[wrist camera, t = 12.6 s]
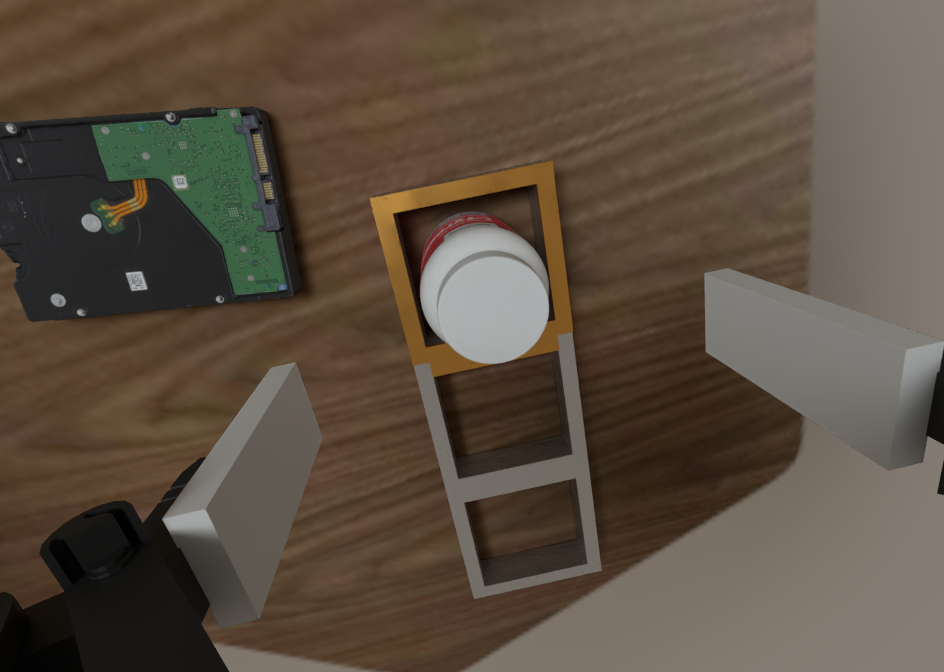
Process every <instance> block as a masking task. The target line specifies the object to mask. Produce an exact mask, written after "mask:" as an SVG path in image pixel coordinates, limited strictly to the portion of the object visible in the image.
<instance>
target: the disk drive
mask: <svg viewBox="0 0 944 672" xmlns="http://www.w3.org/2000/svg"><path fill="white" fill-rule="evenodd" d="M0 248H1V249H2V250H3V251H5V252H6V254H7V256H8V257H10V258H11V260H12V261H13V262H14V263H19V264H20V266H19V267H17V268H16V273H17V274H16V278H17V281H16V282H15V283H14V284H13V285H14V287H15V289H16V292H17V294H18V297H19V298H20V301H21V303H22V306H23V308H24V311H25V312H26V316H27V318H28V320H30V321H32V322H34V321H48V320H55V321H58V320H66V319H75V318H81V317H88V316H104V315H110V314H121V313H132V312H142V311H153V310H161V309H174V308H184V307H196V306H203V305H216V304H224V303H241V302H252V301H254V302H256V301H260V300H265V299H278V298H285V297H291V296H293V295H294V294H295V293H296V292H298V290H299V289H300V288H301V287H302V282H301V277H300V272H299V268H298V264H297V258H296V253H295V248H294V243H293V238H292V233H291V228H290V223H289V218H288V214H287V211H286V206H285V201H284V193H283V189H282V184H281V179H280V174H279V169H278V164H277V160H276V155H275V150H274V145H273V140H272V135H271V130H270V125H269V120H268V115H267V112H265V111H264V110H261V109H259V108H257V107H243V108H237V107H235V108H221V109H219V108H214V107H210V108H209V107H206V108H202V107H201V108H194V109H188V110H180V111H165V112H151V113H137V114H135V113H134V114H119V115H107V116H93V117H83V118H67V119H51V120H39V121H23V122H0Z"/></svg>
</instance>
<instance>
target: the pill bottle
mask: <svg viewBox="0 0 944 672" xmlns="http://www.w3.org/2000/svg"><path fill="white" fill-rule="evenodd" d="M548 297H549V282H548V276H547V272H546V269H545V266H544V264H543V262H542V260H541V258H540V256H539V255H538V253H537V252H536V251H535V250H534V248H533V247H532V246H531V245H530V244H529V243H528V242H527V241H526V240H525V239H523V238H522V237H521V236H520V235H518V234H517V233H516V232H515V231H514V230H512V229H511V228H510V227H509V226H508V225H506V224H505V223H504V222H502V221H501V220H500V219H498V218H496V217H494V216H492V215H489V214H487V213H482V212H474V211H472V212H463V213H459V214H455V215H453V216H451V217H449V218H447V219H446V220H444V221H443V222H441V223H440V224H439V225H438V226H437V227H436V228H435V229H434V230H433V232H432V233H431V234H430V236H429V238H428V240H427V242H426V244H425V247H424V251H423V255H422V267H421V281H420V299H421V305H422V309H423V313H424V315H425V318H426V320H427V322H428V324H429V325H430V327H431V328H432V330H433V331H434V332H435V333H436V334H437V335H438V336H439V337H440V338H441V339H442V340H443V341H444V342H446V343H447V344H449V345H450V346H451V347H452V348H453V349H454V350H455V351H456V352H457V353H459V354H460V355H462V356H463V357H465V358H467V359H469V360H472V361H475V362H478V363H484V364H498V363H504V362H507V361H511V360H513V359H516V358H518V357H520V356H521V355H523V354H524V353H526V352H527V351H528V350H530V349H531V348H532V347H533V346H534V345H535V343H536V342H537V341H538V340H539V338H540V337H541V335H542V333H543V331H544V329H545V326H546V324H547V320H548V316H549V299H548Z"/></svg>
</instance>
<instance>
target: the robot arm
mask: <svg viewBox="0 0 944 672" xmlns="http://www.w3.org/2000/svg"><path fill="white" fill-rule="evenodd" d="M705 336H706V352H707V353H708V354H710V355H711V356H713V357H714V358H716V359H718V360H719V361H721V362H722V363H724V364H725V365H727V366H728V367H730V368H731V369H733V370H734V371H736V372H737V373H739V374H741V375H742V376H744V377H745V378H747V379H748V380H750V381H751V382H753V383H754V384H756V385H757V386H759V387H761V388H762V389H764V390H765V391H767V392H768V393H770V394H771V395H773V396H774V397H776V398H777V399H779V400H781V401H782V402H784V403H785V404H787V405H788V406H790V407H791V408H793V409H794V410H796V411H797V412H799V413H800V414H802V415H804V416H805V417H807V418H808V419H810V420H812V421H813V422H814V423H816V424H817V425H819V426H821V427H822V428H824V429H825V430H827V431H828V432H830V433H831V434H833V435H834V436H836V437H837V438H839V439H840V440H842V441H844V442H845V443H847V444H848V445H850V446H851V447H853V448H854V449H856V450H857V451H859V452H861V453H862V454H864V455H865V456H867V457H868V458H870V459H871V460H873V461H875V462H876V463H877V464H879V465H880V466H882V467H883V468H885V469H887V470H892V469H896V468H901V467H905V466H909V465H913V464H917V463H922V462H923V459H924V453H925V448H926V442H927V437H928V436H929V437H931V438H933V439H934V440H936V441H938V442H940V443H942V444H944V340H941V339H938V338H935V337H932V336H929V335H926V334H922V333H920V332H917V331H913V330H910V329H908V328H905V327H902V326H899V325H895V324H893V323H889V322H887V321H884V320H881V319H878V318H875V317H871V316H869V315H866V314H863V313H860V312H857V311H854V310H851V309H848V308H845V307H842V306H839V305H836V304H833V303H830V302H827V301H824V300H821V299H818V298H815V297H812V296H809V295H806V294H803V293H800V292H797V291H794V290H791V289H788V288H785V287H782V286H779V285H776V284H773V283H770V282H767V281H764V280H761V279H758V278H755V277H752V276H749V275H746V274H743V273H740V272H737V271H734V270H731V269H728V268H727V269H722V270H717V271H713V272H708V273H705ZM321 441H322V435H321V432H320V429H319V426H318V424H317V421H316V418H315V415H314V412H313V410H312V407H311V404H310V401H309V398H308V396H307V393H306V390H305V387H304V384H303V382H302V379H301V376H300V373H299V370H298V368H297V365H296V362H295V363H291V364H286V365H281V366H277V367H272V368H270V370H269V371H268V373H267V374H266V375H265V377H264V378H263V380H262V381H261V382H260V384H259V385H258V387H257V388H256V389H255V391H254V392H253V393H252V395H251V396H250V398H249V399H248V400H247V402H246V403H245V405H244V406H243V407H242V409H241V410H240V411H239V413H238V414H237V416H236V417H235V418H234V420H233V421H232V423H231V424H230V425H229V427H228V428H227V430H226V431H225V432H224V434H223V435H222V436H221V438H220V439H219V441H218V442H217V443H216V445H215V446H214V448H213V449H212V450H211V452H210V453H209V454H208V456H207V457H203V458H200V459H198V460H197V461H196V462H195V463H193V464H192V465H191V466H190V467H188V468H187V469H186V470H185V471H183V472H182V473H181V474H180V476H179V477H178V478H177V480H176V481H175V482H174V484H173V485H172V486H171V490H169V491H167V493H166V494H165V495H164V497H163V498H162V499H161V503H158V505H157V506H156V507H155V508H154V510H153V511H152V512H151V514H150V515H149V516H148V518H147V519H146V520H145V522H144V523H142V522H141V520H140V518H139V516H138V514H137V513H136V511H135V509H134V507H133V505H132V504H131V503H129V502H127V501H113V502H109V503H106V504H102V505H99V506H97V507H94V508H92V509H90V510H88V511H85V512H83V513H81V514H80V515H78V516H76V517H75V518H73V519H71V520H69V521H68V522H66V523H65V524H63V525H62V526H61V527H60V528H58V529H57V530H56V531H55V532H53V533H52V534H51V535H50V536H49V537H48V538H47V540H46V541H45V542H44V543H43V544H42V546H41V550H40V553H39V554H40V555H41V557H42V558H43V560H44V561H45V563H46V564H47V566H48V567H49V569H50V570H51V572H52V573H53V575H54V576H55V578H56V579H57V581H58V582H59V584H60V585H61V586H62V588H63V589H64V591H65V592H63V593H60V594H58V595H56V596H53V597H51V598H49V599H46V600H44V601H42V602H39V603H37V604H35V605H32V606H30V607H28V608H25V609H22V607H21V606H20V605H19V603H18V602H17V601H16V599H15V598H14V597H13V595H11V594H9V593H6V592H2V593H0V672H229V671H228V669H227V667H226V665H225V664H224V662H223V660H222V659H221V657H220V655H219V654H218V652H217V650H216V648H215V647H214V645H213V643H212V642H211V640H210V638H209V636H208V635H207V633H206V631H205V630H204V628H203V626H202V625H201V623H202V621H203V619H204V617H205V615H206V613H207V610H208V608H209V607H210V609H211V611H212V613H213V615H214V616H215V618H216V620H217V622H218V624H219V626H220V628H223V627H227V626H232V625H236V624H240V623H244V622H249V621H253V620H257V619H260V616H261V613H262V610H263V607H264V604H265V601H266V598H267V596H268V593H269V590H270V587H271V584H272V581H273V578H274V575H275V573H276V570H277V567H278V564H279V561H280V558H281V555H282V552H283V550H284V547H285V544H286V541H287V538H288V535H289V532H290V530H291V527H292V524H293V521H294V518H295V515H296V512H297V509H298V507H299V504H300V501H301V498H302V495H303V492H304V489H305V486H306V484H307V481H308V478H309V475H310V472H311V469H312V466H313V463H314V461H315V458H316V455H317V452H318V449H319V446H320V443H321ZM938 494H942V495H944V462H943V467H942V472H941V477H940V482H939V487H938Z"/></svg>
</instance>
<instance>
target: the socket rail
mask: <svg viewBox="0 0 944 672" xmlns="http://www.w3.org/2000/svg"><path fill="white" fill-rule="evenodd" d="M523 186H527V187H528V194H529V201H530V208H531V215H532V222H533V229H534V236H535V243H536V250H537V253H538V255H539V256H540V258H541V260H542V262H543V264H544V266H545V269H546V272H547V276H548V282H549V297H548V299H549V316H548V320H547V324H546V326H545V329H544V331H543V333H542V335H541V337H540V338H539V340H538V341H537V342H536V343H535V345H534V346H533V347H532V348H531V349H530V350H528V351H527V352H526V353H524V354H523V355H521V356H520V357H518V358H516V359H520V358H525V357H530V356H534V355H539V354H544V353H548V352H551V355H552V362H553V369H554V376H555V383H556V390H557V397H558V404H559V411H560V418H561V425H562V432H563V435H560V436H555V437H551V438H546V439H542V440H537V441H532V442H528V443H523V444H519V445H514V446H509V447H505V448H500V449H496V450H491V451H486V452H482V453H477V454H473V455H468V456H463V457H459V458H456V455H455V451H454V447H453V443H452V439H451V435H450V431H449V426H448V422H447V418H446V414H445V410H444V406H443V402H442V397H441V393H440V389H439V385H438V381H437V377H436V376H441V375H446V374H450V373H455V372H460V371H464V370H469V369H474V368H478V367H483V366H488V365H492V364H484V363H478V362H475V361H472V360H469V359H467V358H465V357H463V356H462V355H460V354H459V353H457V352H456V351H455V350H454V349H453V348H452V347H451V346H450V345H449V344H447V343H446V342H444V341H443V340H442V339H441V338H440V337H439V336H438V335H437V334H436V333H435V332H434V331H429V332H426V331H425V327H424V323H423V319H422V315H421V311H420V307H419V302H418V298H417V294H416V290H415V286H414V282H413V278H412V273H411V269H410V265H409V261H408V257H407V253H406V249H405V245H404V240H403V236H402V232H401V228H400V224H399V220H398V216H397V213H398V212H402V211H407V210H412V209H417V208H422V207H427V206H431V205H436V204H441V203H446V202H451V201H456V200H460V199H465V198H470V197H475V196H480V195H485V194H489V193H494V192H499V191H504V190H509V189H514V188H518V187H523ZM370 201H371V205H372V209H373V213H374V217H375V221H376V225H377V228H378V232H379V236H380V240H381V244H382V248H383V252H384V255H385V259H386V263H387V267H388V271H389V275H390V279H391V282H392V286H393V290H394V294H395V298H396V302H397V306H398V309H399V313H400V317H401V321H402V325H403V329H404V333H405V336H406V340H407V344H408V348H409V352H410V356H411V360H412V363H413V366H414V369H415V373H416V376H417V380H418V384H419V388H420V392H421V396H422V400H423V404H424V407H425V411H426V415H427V419H428V423H429V427H430V431H431V434H432V438H433V442H434V446H435V450H436V454H437V458H438V462H439V465H440V469H441V473H442V477H443V481H444V485H445V489H446V492H447V496H448V500H449V504H450V508H451V512H452V516H453V520H454V523H455V527H456V531H457V535H458V539H459V543H460V547H461V550H462V554H463V558H464V562H465V566H466V570H467V574H468V578H469V581H470V585H471V589H472V593H473V597H474V599H477V598H481V597H486V596H490V595H495V594H499V593H504V592H508V591H513V590H517V589H522V588H526V587H531V586H535V585H540V584H544V583H549V582H553V581H558V580H562V579H567V578H571V577H575V576H580V575H584V574H589V573H593V572H598V571H602V569H601V561H600V553H599V545H598V537H597V529H596V521H595V512H594V504H593V496H592V488H591V480H590V472H589V464H588V456H587V448H586V440H585V431H584V423H583V415H582V407H581V399H580V391H579V383H578V375H577V367H576V358H575V350H574V342H573V334H572V332H573V324H572V316H571V308H570V300H569V292H568V283H567V275H566V267H565V259H564V251H563V243H562V234H561V226H560V218H559V210H558V202H557V194H556V185H555V177H554V169H553V161H538V162H533V163H529V164H524V165H519V166H514V167H509V168H504V169H499V170H495V171H490V172H485V173H480V174H475V175H470V176H465V177H461V178H456V179H451V180H446V181H441V182H436V183H431V184H427V185H422V186H417V187H412V188H407V189H402V190H397V191H393V192H388V193H383V194H378V195H374V196H373V197H371V198H370ZM516 359H513V360H516ZM565 480H569V481H570V488H571V495H572V502H573V509H574V516H575V523H576V530H577V537H578V539H577V540H572V541H568V542H563V543H559V544H554V545H550V546H545V547H541V548H536V549H532V550H527V551H523V552H518V553H514V554H509V555H504V556H500V557H495V558H491V559H486V560H482V561H481V559H480V555H479V550H478V546H477V542H476V538H475V534H474V530H473V526H472V521H471V517H470V513H469V509H468V505H467V502H470V501H474V500H479V499H483V498H488V497H492V496H497V495H502V494H506V493H511V492H515V491H520V490H524V489H529V488H534V487H538V486H543V485H547V484H552V483H556V482H561V481H565Z"/></svg>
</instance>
